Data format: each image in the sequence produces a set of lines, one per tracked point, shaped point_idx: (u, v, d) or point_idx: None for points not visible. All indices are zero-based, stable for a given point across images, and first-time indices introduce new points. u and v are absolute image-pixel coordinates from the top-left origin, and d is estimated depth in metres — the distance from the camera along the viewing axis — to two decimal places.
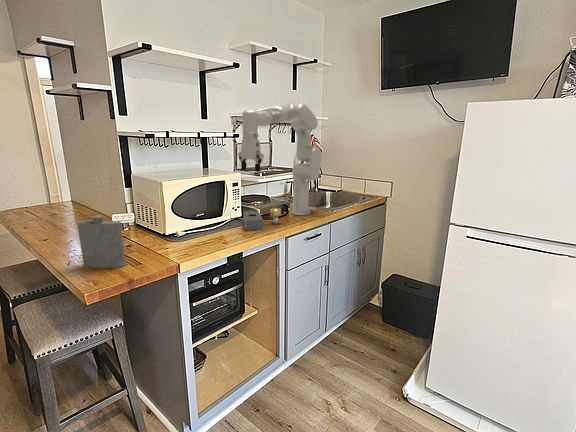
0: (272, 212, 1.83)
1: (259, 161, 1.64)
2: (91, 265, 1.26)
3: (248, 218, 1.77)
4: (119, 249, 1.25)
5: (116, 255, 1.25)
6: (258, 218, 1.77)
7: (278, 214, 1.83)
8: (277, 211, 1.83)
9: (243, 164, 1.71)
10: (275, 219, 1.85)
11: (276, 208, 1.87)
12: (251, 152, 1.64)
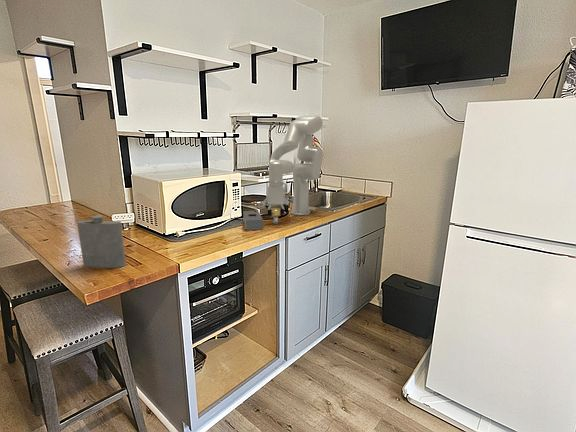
0: (272, 212, 1.83)
1: (285, 206, 1.85)
2: (91, 265, 1.26)
3: (248, 218, 1.77)
4: (119, 249, 1.25)
5: (116, 255, 1.25)
6: (258, 218, 1.77)
7: (278, 214, 1.83)
8: (277, 211, 1.83)
9: (270, 211, 1.84)
10: (275, 219, 1.85)
11: (276, 208, 1.87)
12: (281, 198, 1.82)
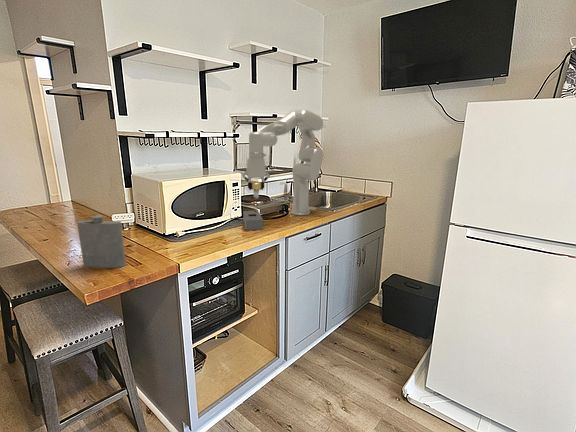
0: (252, 185, 1.77)
1: None
2: (91, 265, 1.26)
3: (248, 218, 1.77)
4: (119, 249, 1.25)
5: (116, 255, 1.25)
6: (258, 218, 1.77)
7: (259, 187, 1.77)
8: (257, 184, 1.76)
9: (250, 184, 1.78)
10: (255, 193, 1.79)
11: (257, 182, 1.81)
12: (262, 171, 1.76)
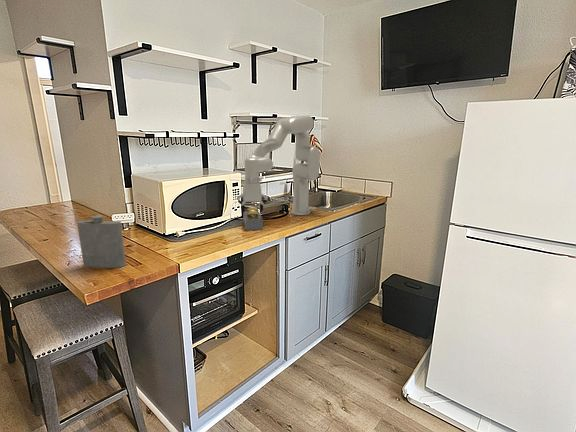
0: (249, 212, 1.80)
1: (264, 202, 1.82)
2: (91, 265, 1.26)
3: (248, 218, 1.77)
4: (119, 249, 1.25)
5: (116, 255, 1.25)
6: (258, 218, 1.77)
7: (255, 214, 1.81)
8: (254, 211, 1.80)
9: None
10: None
11: (253, 208, 1.84)
12: (257, 195, 1.79)
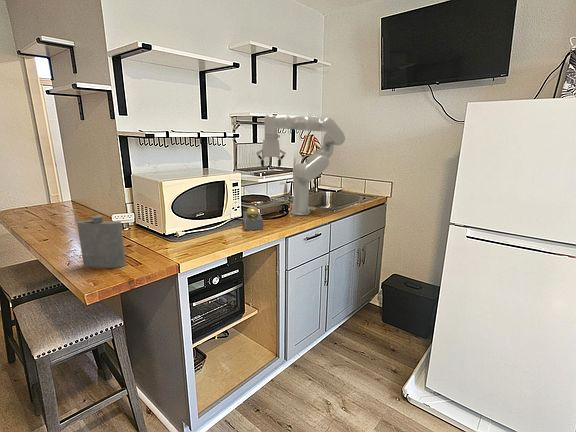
0: (249, 212, 1.80)
1: None
2: (91, 265, 1.26)
3: (248, 218, 1.77)
4: (119, 249, 1.25)
5: (116, 255, 1.25)
6: (258, 218, 1.77)
7: (255, 214, 1.81)
8: (254, 211, 1.80)
9: (263, 162, 1.93)
10: None
11: (253, 208, 1.84)
12: (276, 150, 1.92)
